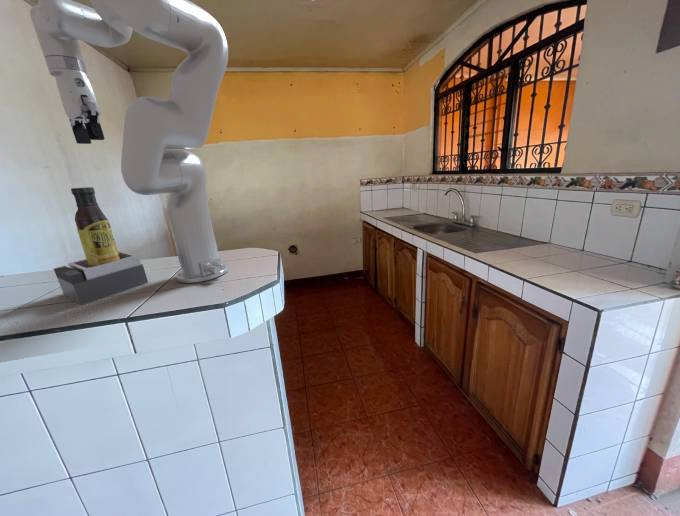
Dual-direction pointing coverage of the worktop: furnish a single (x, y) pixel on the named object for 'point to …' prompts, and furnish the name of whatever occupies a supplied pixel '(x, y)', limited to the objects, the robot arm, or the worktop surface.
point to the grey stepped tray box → (100, 278)
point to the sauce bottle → (93, 228)
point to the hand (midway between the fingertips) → (90, 141)
